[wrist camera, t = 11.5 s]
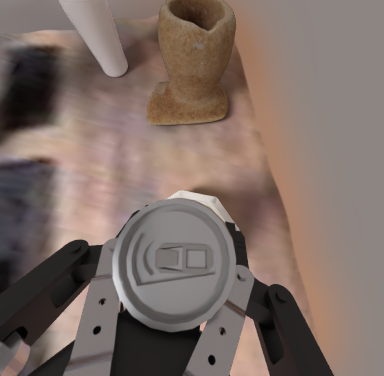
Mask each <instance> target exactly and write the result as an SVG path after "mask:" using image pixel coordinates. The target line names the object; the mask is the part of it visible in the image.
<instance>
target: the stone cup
mask: <svg viewBox="0 0 384 376" xmlns="http://www.w3.org/2000/svg"><path fill="white" fill-rule="evenodd" d="M235 29H236V19H235V15H234V12H233V10H232V9H231V7H230V6H229V5H228V4H227V3H226V2H225V1H223V0H166V1H165V2H163V4H162V6H161V8H160V12H159V20H158V40H159V46H160V50H161V54H162V57H163V61H164V64H165V67H166V69H167V72H168V75H169V79H170V82H160V83H158V84H157V86H156V88H155V91H154V92H153V93H152V94H151V96H150V98H149V102H148V108H147V121H148V124H150V125H177V124H194V123H204V122H213V121H217V120H220V119H223V118H224V117H225V115H226V113H227V109H228V98H227V94H226V91H225V89H224V88H223V86H222V85H221V84H220V83H218V82H219V80H220V78H221V76H222V74H223V73H224V70H225V68H226V66H227V64H228V62H229V59H230V56H231V52H232V47H233V42H234V37H235Z"/></svg>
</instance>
